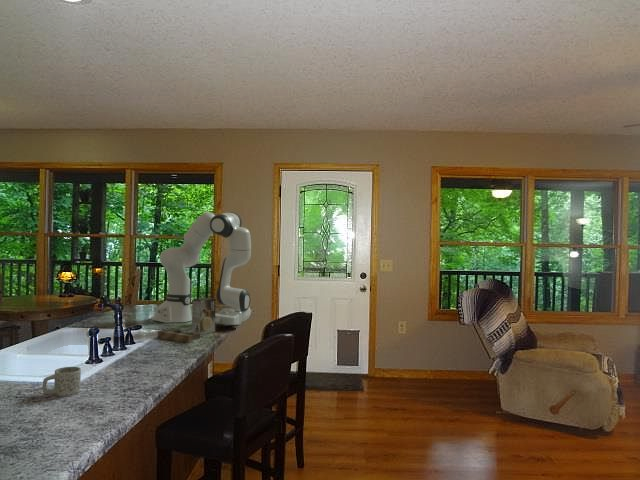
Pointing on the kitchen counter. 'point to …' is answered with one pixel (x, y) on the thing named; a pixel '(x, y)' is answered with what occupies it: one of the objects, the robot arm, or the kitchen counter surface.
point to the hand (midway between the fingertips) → (210, 320)
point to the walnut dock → (177, 336)
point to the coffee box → (203, 315)
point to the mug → (64, 382)
